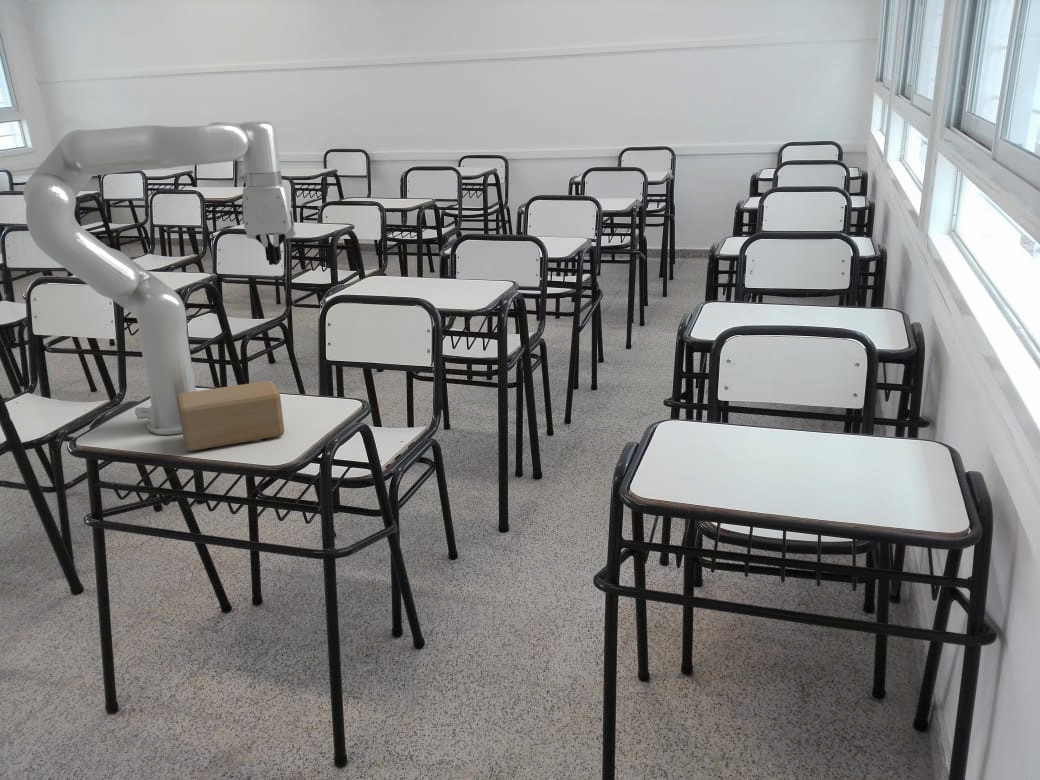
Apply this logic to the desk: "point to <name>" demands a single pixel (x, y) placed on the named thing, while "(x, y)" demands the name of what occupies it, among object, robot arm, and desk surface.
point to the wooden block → (230, 415)
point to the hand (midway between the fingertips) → (274, 263)
